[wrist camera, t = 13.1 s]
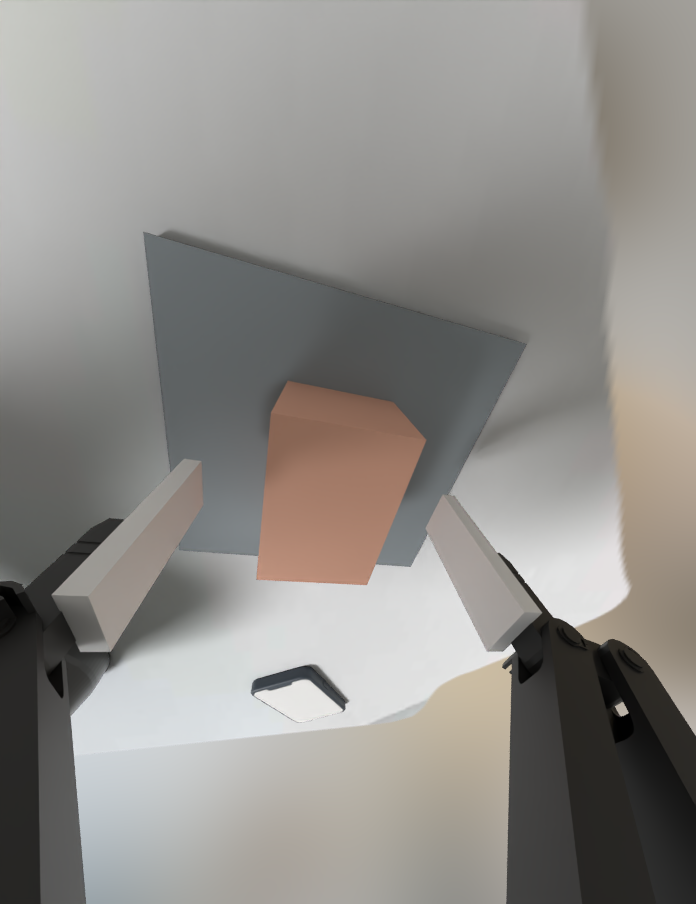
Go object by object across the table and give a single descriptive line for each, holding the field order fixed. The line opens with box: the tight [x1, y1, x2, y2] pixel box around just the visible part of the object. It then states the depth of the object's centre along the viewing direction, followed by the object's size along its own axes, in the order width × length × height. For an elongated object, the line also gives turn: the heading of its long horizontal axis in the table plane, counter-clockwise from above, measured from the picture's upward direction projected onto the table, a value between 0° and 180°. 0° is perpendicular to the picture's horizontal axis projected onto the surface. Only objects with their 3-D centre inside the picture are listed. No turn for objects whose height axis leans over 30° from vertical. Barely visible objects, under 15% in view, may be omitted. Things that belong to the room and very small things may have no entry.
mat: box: [143, 232, 526, 567], centre depth 17 cm, size 20×20×1 cm
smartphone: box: [251, 666, 345, 723], centre depth 36 cm, size 9×2×16 cm
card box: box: [256, 381, 426, 585], centre depth 15 cm, size 10×6×6 cm, turn 167°
